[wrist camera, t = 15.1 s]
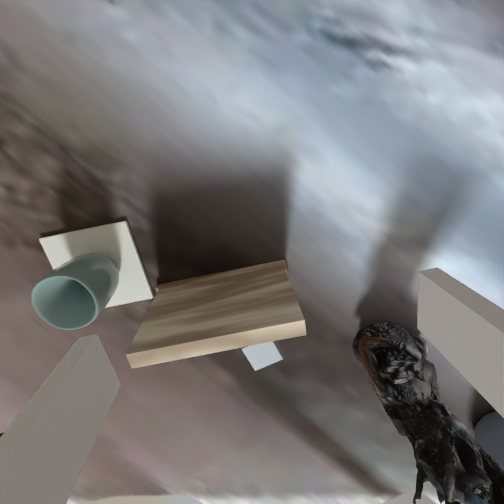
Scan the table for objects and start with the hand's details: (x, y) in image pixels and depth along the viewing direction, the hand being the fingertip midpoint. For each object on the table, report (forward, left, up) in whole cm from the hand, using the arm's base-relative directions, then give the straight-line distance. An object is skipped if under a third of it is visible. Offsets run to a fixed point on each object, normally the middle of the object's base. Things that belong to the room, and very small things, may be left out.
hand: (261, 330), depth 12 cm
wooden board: (+13, -6, -33) cm, 36 cm away
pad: (+7, -24, -33) cm, 41 cm away
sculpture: (+32, +19, -33) cm, 50 cm away
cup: (+7, -24, -32) cm, 41 cm away
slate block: (+25, -2, -33) cm, 41 cm away
